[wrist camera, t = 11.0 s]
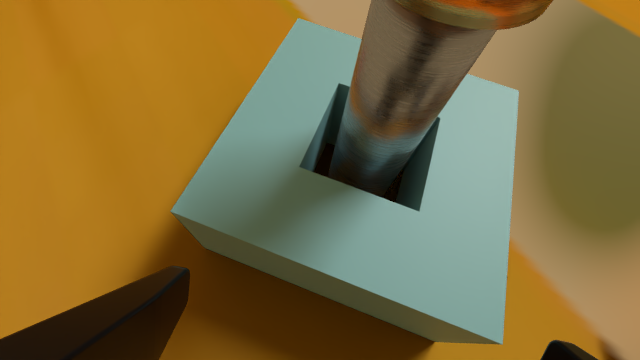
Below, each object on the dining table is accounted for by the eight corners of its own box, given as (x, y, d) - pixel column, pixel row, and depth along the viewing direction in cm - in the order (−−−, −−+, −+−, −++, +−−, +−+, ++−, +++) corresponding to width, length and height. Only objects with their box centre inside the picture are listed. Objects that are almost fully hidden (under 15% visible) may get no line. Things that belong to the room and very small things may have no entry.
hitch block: (435, 342, 14) (502, 344, 10) (204, 248, 15) (170, 211, 11) (467, 146, 20) (518, 90, 15) (296, 86, 21) (298, 18, 16)
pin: (378, 239, 16) (600, 5, 5) (302, 210, 17) (336, -74, 5) (397, 173, 18) (584, -104, 7) (329, 148, 19) (397, -156, 7)
